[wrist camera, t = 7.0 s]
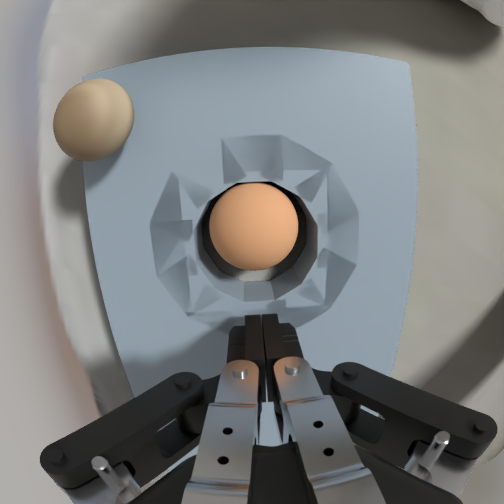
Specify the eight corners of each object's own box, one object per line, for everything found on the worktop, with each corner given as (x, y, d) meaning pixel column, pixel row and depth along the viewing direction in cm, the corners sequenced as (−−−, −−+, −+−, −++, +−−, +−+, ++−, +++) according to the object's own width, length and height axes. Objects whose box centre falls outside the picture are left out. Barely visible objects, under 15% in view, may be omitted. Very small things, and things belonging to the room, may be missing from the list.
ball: (259, 182, 16) (291, 159, 12) (288, 250, 16) (328, 247, 12) (190, 209, 14) (202, 191, 11) (222, 282, 15) (244, 289, 11)
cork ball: (126, 75, 11) (92, 51, 7) (158, 132, 11) (128, 122, 8) (70, 119, 11) (27, 110, 8) (98, 176, 12) (56, 181, 9)
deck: (349, 452, 21) (356, 471, 19) (178, 462, 21) (174, 482, 19) (387, 74, 13) (408, 62, 11) (103, 86, 13) (82, 76, 10)
